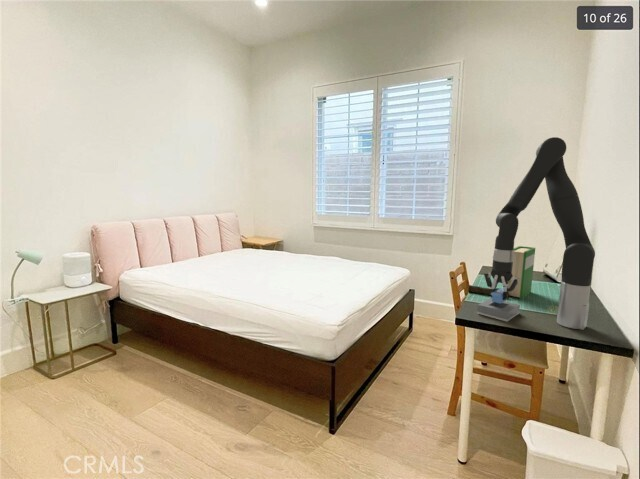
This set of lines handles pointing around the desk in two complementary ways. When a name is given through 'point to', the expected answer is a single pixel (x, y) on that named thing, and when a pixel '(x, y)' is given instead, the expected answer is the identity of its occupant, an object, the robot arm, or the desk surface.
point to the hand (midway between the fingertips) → (499, 298)
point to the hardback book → (522, 271)
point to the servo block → (498, 296)
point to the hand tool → (481, 290)
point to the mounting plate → (498, 309)
